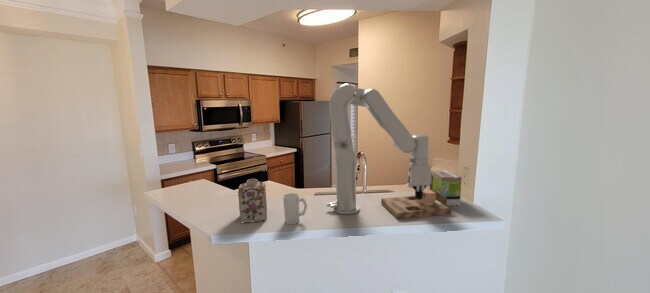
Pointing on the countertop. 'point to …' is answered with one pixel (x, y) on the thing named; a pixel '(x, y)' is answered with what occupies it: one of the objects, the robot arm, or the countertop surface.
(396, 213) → the board
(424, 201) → the block
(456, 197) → the tea box
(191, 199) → the countertop surface
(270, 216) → the countertop surface
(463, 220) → the countertop surface
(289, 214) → the mug
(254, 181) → the decorative jar
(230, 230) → the countertop surface
